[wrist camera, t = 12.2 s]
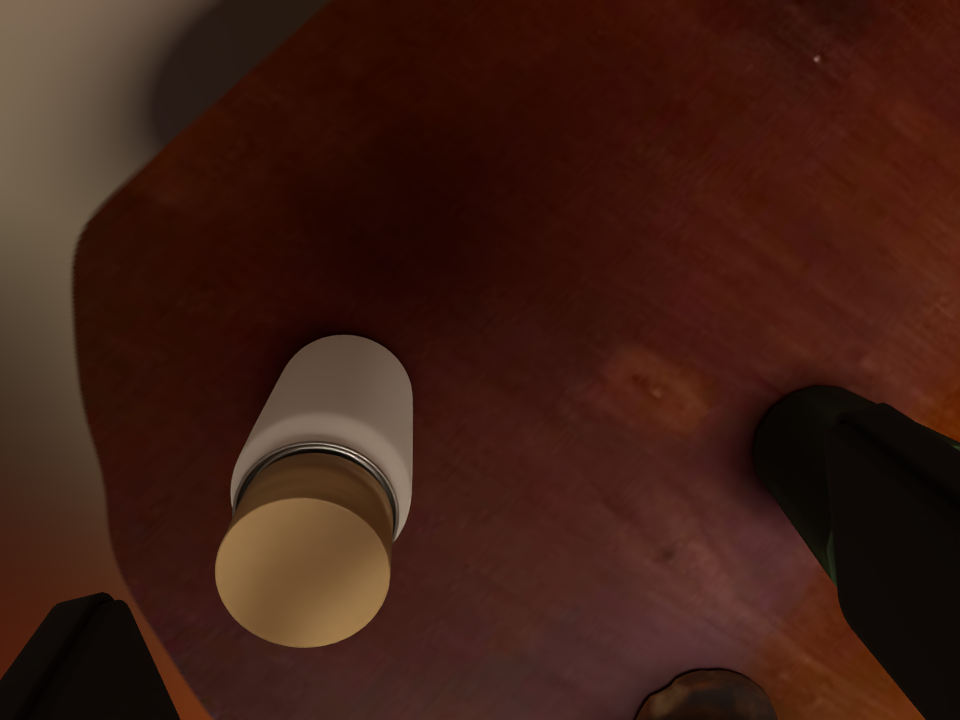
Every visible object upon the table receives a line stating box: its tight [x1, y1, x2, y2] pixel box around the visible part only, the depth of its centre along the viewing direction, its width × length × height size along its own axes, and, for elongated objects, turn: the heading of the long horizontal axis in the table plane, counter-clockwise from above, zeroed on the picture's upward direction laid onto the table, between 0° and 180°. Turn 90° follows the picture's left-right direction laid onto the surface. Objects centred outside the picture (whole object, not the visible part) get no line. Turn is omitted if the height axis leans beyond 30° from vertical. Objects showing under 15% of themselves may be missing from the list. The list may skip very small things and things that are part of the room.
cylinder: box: [215, 453, 393, 648], centre depth 25 cm, size 5×5×3 cm
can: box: [231, 335, 413, 545], centre depth 32 cm, size 6×6×12 cm
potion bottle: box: [753, 386, 960, 587], centre depth 32 cm, size 8×8×18 cm
